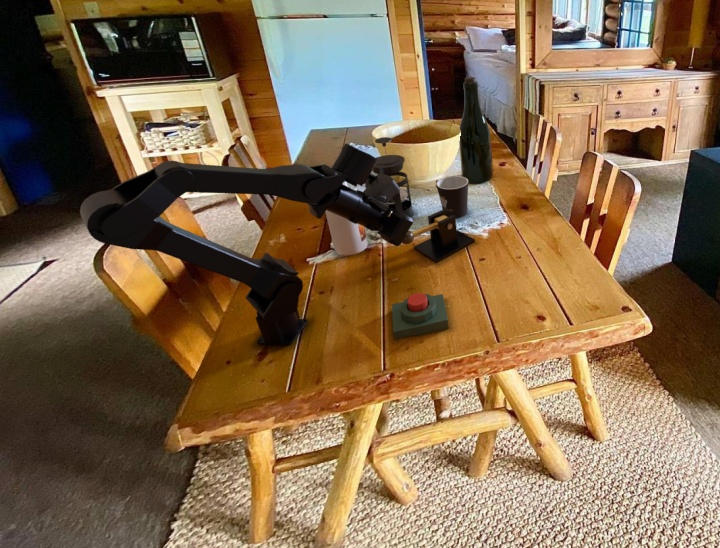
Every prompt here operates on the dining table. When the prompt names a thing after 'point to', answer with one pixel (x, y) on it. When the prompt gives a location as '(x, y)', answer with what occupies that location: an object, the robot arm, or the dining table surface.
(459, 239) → the lever switch
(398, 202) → the french press
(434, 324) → the button box
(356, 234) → the milk bottle
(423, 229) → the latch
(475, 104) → the wine bottle
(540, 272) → the dining table surface
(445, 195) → the coffee mug
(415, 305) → the button
